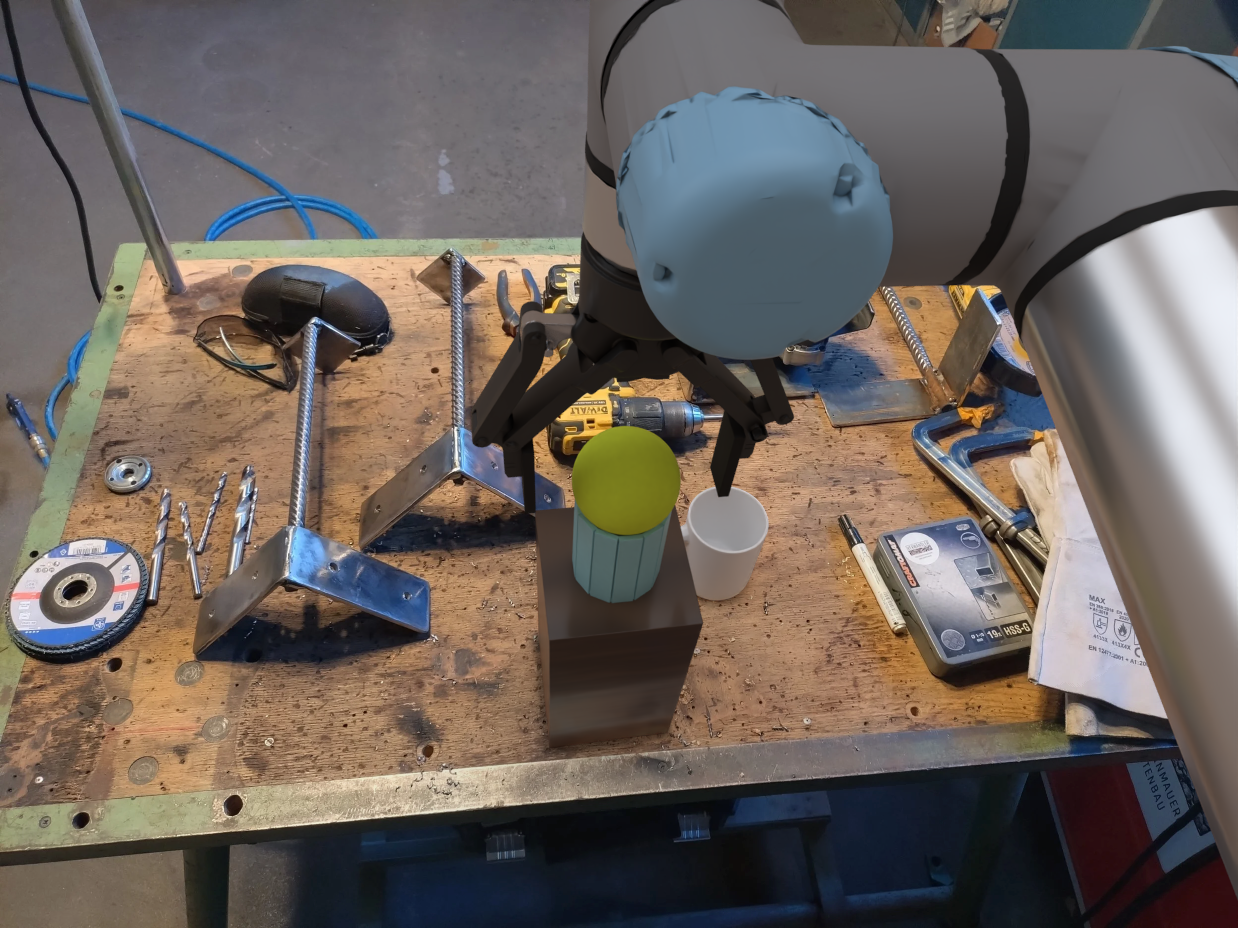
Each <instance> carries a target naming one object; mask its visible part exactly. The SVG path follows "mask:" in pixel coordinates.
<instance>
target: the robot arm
mask: <svg viewBox="0 0 1238 928" xmlns="http://www.w3.org/2000/svg"><path fill="white" fill-rule="evenodd" d="M588 18H589V19H588V21H589V23H588V48H587V49H588V51H587V103H586V104H587V105H586V106H587V111H586V112H587V113H586V114H587V115H586V132H585V144H584V166H583V167H584V171H583V188H582V192H583V193H582V208H581V209H582V210H581V211H582V212H581V229H582V234H581V237H580V254H579V255H580V256H579V284H578V286H579V287H578V288H579V289H578V299H577V302H576V304H575V306H573V307H574V308H573V309H572V310H571V311H570V313H558V312H557V313H555V312H554V313H553V312H544V311H543V306H542V304H540V303H539V302H537V301H534V300H529V301H527V302H525V303H523V304H522V305H521V306H520V311H519V319H518V329H517V333H516V335H515V336H514V338H513V340H512V342H511V343H510V345H509V347H508V348H507V350H506V352H505V353H504V355H503V356H502V358H501V360H500V361H499V363H498V364H497V366H496V367H495V369H494V371H493V372H492V375H491V376H490V377H489V379H488V381H487V383H486V384H485V386H484V388H482V391H481V392H480V394H479V395H478V397H477V399H476V400H475V403H474V404H473V406H472V407H471V409H470V426H471V429H470V430H471V443H472V445H473V446H474V447H477V448H487V447H489V446H491V444H495V445H498V446H499V447H500V448H501V449H502V458H503V459H502V460H503V469H504V471H503V472H504V475H505V476H506V477H507V478H508V479H509V478H521V487H522V489H521V490H522V498H523V507H524V509H523V510H524V514H525V515H527V514H529V515H530V514H535V513H536V510H537V500H536V468H535V467H536V461H535V458H536V457H535V447H534V438H535V437H537V436H538V435H539V434H540V433H542V431H544V430H545V429H546V428H547V427H548V426H550V425H551V424H552V423H553V422H554V421H555V420H556V419H558V418H559V417H560V416H562V415H563V414H564V413H565V412H566V411H568V409H570V408H571V407H572V406H573V405H574V404H575V403H577V402H578V401H579V400H580V399H581V398H583V397H584V396H585V395H587V394H588V395H591V396H593V395H594V394H596V393H597V392H598V391H599V390H601V389H602V388H603V387H604V386H605V385H607V384H608V383H609V382H610V381H611V380H612V379H615V380H616V383H629V382H634V381H638V380H641V379H647V380H648V379H649V380H654V381H661V380H670V377H671V376H672V375H675V374H677V373H679V374H681V375H682V376H683V377H684V379H686V380H687V381H688V382H689V383H690V384H691V385H692V386H694V388H696V389H697V388H700V389H701V390H703V392H705V394H706V395H708V397H710V398H711V399H713V401H714V402H715V403H716V404H717V405H718V406H719V407H720V408H722V409H723V414H722V418H721V421H720V426H719V429H718V434H717V437H716V441H715V445H714V450H713V454H712V457H711V461H710V465H709V470H710V473H711V476H712V480H713V484H714V487H716V491H717V494H718V497H728V496H729V493H730V490H731V487H733V483H734V480H735V477H736V472H737V470H738V466H739V462H740V460H742V459H744V460H745V459H749V458H750V457H751V456H752V455H753V454H754V451H755V447H756V444H757V443H761V442H763V441H765V440H767V439H768V437H769V432H768V430H767V427H766V425H768V424H770V423H771V424H772V423H774V422H775V423H776V425H779V426H785V425H788V424H790V423H792V421H793V420H794V419H795V414H794V412H793V409H792V407H791V404H790V402H789V399H788V396H787V394H786V390H785V388H784V385H783V382H782V380H781V377H780V375H779V372H778V370H777V367H776V364H775V362H774V359H773V358H777V357H781V356H782V355H783V354H784V353H785V351H786V349H787V348H788V349H789V348H790V347H792V346H793V347H794V346H795V345H797V344H800V343H803V342H805V341H810V342H812V343H816V344H817V343H818V342H820V341H822V340H825V339H827V338H828V337H831V336H832V335H833V334H834V333H837V332H838V331H839V330H841V329H842V328H843V327H845V326H846V325H847V324H848V323H849V322H850V321H852V319H853V318H854V317H856V316H857V315H858V314H859V313H860V312H861V311H862V310H863V309H864V308H865V307H866V305H867V304H868V302H869V301H870V300H871V298H872V297H873V296H874V295H875V293H876V292H877V290H878V288H889V287H890V288H893V287H895V288H898V287H899V288H900V287H936V286H937V287H941V286H942V287H943V286H944V287H947V286H950V287H951V286H952V287H953V286H971V287H973V286H976V287H977V286H979V287H981V286H982V287H986V286H987V287H996V288H997V289H999V291H1000V292H1001V294H1002V296H1003V298H1004V299H1003V300H1004V301H1005V304H1006V307H1007V309H1008V312H1009V314H1010V316H1011V318H1012V321H1013V324H1014V327H1015V330H1016V332H1017V336H1018V338H1019V340H1020V341H1021V343H1022V345H1023V347H1024V349H1025V352H1026V354H1027V358H1028V361H1029V362H1030V365H1031V368H1032V370H1033V372H1034V376H1035V378H1036V381H1037V383H1038V386H1039V389H1040V391H1041V393H1042V396H1043V398H1044V402H1045V404H1046V407H1047V409H1048V412H1049V415H1050V417H1051V420H1052V422H1053V425H1054V427H1055V429H1056V433H1057V435H1058V437H1059V440H1060V443H1061V446H1062V448H1063V450H1064V452H1065V456H1066V458H1067V461H1068V463H1069V467H1070V468H1071V472H1072V474H1073V476H1074V479H1075V482H1076V485H1077V487H1078V490H1079V492H1080V495H1081V497H1082V500H1083V502H1084V505H1085V508H1086V511H1087V513H1088V515H1089V518H1090V521H1091V523H1092V526H1093V528H1094V530H1095V534H1096V536H1097V539H1098V541H1099V544H1100V547H1101V549H1102V552H1103V554H1104V556H1105V560H1106V563H1107V565H1108V567H1109V570H1110V573H1111V575H1112V578H1113V580H1114V582H1115V583H1114V584H1115V586H1116V589H1117V592H1118V594H1119V596H1120V598H1121V601H1122V604H1123V606H1124V609H1125V611H1126V613H1127V616H1128V619H1129V622H1130V623H1131V627H1132V630H1133V632H1134V635H1135V637H1136V640H1137V642H1138V645H1139V647H1140V650H1141V653H1142V655H1143V658H1144V661H1145V663H1146V665H1147V668H1148V671H1149V673H1150V676H1151V679H1152V682H1153V684H1154V686H1155V689H1156V693H1157V694H1158V696H1159V700H1160V703H1161V705H1162V707H1163V709H1164V712H1165V715H1166V718H1167V720H1168V723H1169V725H1170V728H1171V730H1172V733H1173V736H1174V738H1175V742H1176V744H1177V746H1178V749H1179V752H1180V754H1181V757H1182V759H1183V762H1184V764H1185V767H1186V769H1187V772H1188V774H1189V775H1188V776H1189V777H1190V780H1191V782H1192V785H1193V787H1194V791H1195V793H1196V795H1197V798H1198V800H1199V803H1200V805H1201V808H1202V811H1203V813H1204V816H1205V819H1206V822H1207V824H1208V827H1209V829H1210V832H1211V834H1212V837H1213V840H1214V842H1215V845H1216V847H1217V851H1218V852H1219V855H1220V858H1221V860H1222V862H1223V865H1224V868H1225V871H1226V874H1227V875H1228V878H1229V881H1230V883H1231V887H1232V889H1233V891H1234V894H1235V897H1236V899H1237V900H1238V56H1237V55H1236V56H1235V55H1225V54H1216V53H1206V52H1199V51H1193V50H1192V49H1190V48H1189V47H1188V46H1179V45H1170V46H1149V47H1143V48H1138V49H1081V48H1080V49H1079V48H1078V49H1077V48H1076V49H1074V48H1073V49H1070V48H1069V49H1068V48H1067V49H1063V48H1062V49H1058V48H1057V49H1054V48H1053V49H1051V48H1050V49H1049V48H1048V49H1046V48H1043V49H1041V48H1040V49H1039V48H1038V49H1036V48H1032V49H1031V48H1030V49H1029V48H1026V49H1024V48H1018V49H1017V48H995V49H994V48H970V47H961V46H960V47H957V46H956V47H955V46H953V47H952V46H950V47H949V46H905V45H903V46H901V45H896V46H895V45H893V46H892V45H842V44H841V45H839V44H838V45H835V44H833V45H832V44H831V45H830V44H825V45H824V44H823V45H822V44H807V43H804V41H803V39H802V37H801V35H800V33H799V31H798V30H797V28H796V27H795V24H794V22H793V21H792V19H791V17H790V15H789V13H788V12H787V10H786V8H785V0H589V17H588ZM569 339H571V341H572V342H571V344H570V345H569V347H568V349H567V352H566V354H565V356H563V357H562V358H561V359H560V360H559V361H558V362H557V363H556V364H555V365H553V367H551V368H550V369H549V370H548V371H547V372H546V373H544V374H543V375H542V376H541V377H540V378H539V379H538V380H536V382H535V383H533V381H534V380H535V378H536V377H537V375H538V373H540V370H541V368H542V366H543V363H544V358H551V357H553V356H554V353H555V352H554V351H555V350H556V349H557V348H558V346H559V344H560V343H561V342H562V341H565V340H569ZM719 358H724V359H732V360H743V361H745V360H746V361H749V360H750V363H751V366H752V368H753V370H754V373H755V375H756V378H757V380H758V383H759V384H760V388H761V390H762V392H763V394H762V395H759V396H756V395H754V394H753V392H752V391H750V390H749V388H748V387H747V386H746V385H745V384H744V383H743V382H742V381H741V380H740V379H739V378H738V377H737V376H736V375H735V374H734V373H733V372H732V371H731V370H730V369H729V368H728V367H727V366H726V365H725V364H724V363H723V362H722V361H721V359H719ZM532 383H533V384H532ZM531 385H532V386H531ZM530 386H531V387H530Z"/></svg>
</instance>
